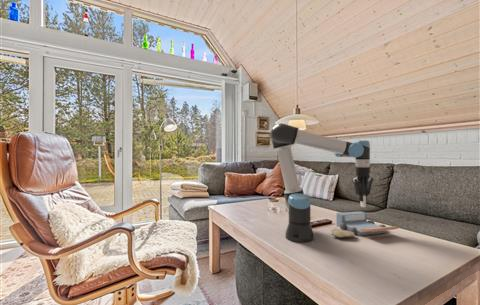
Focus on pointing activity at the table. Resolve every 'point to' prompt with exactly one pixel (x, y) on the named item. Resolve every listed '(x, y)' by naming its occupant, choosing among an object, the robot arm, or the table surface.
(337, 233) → the seashell
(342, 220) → the truck bed
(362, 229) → the tailgate
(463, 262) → the table surface
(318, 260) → the table surface
